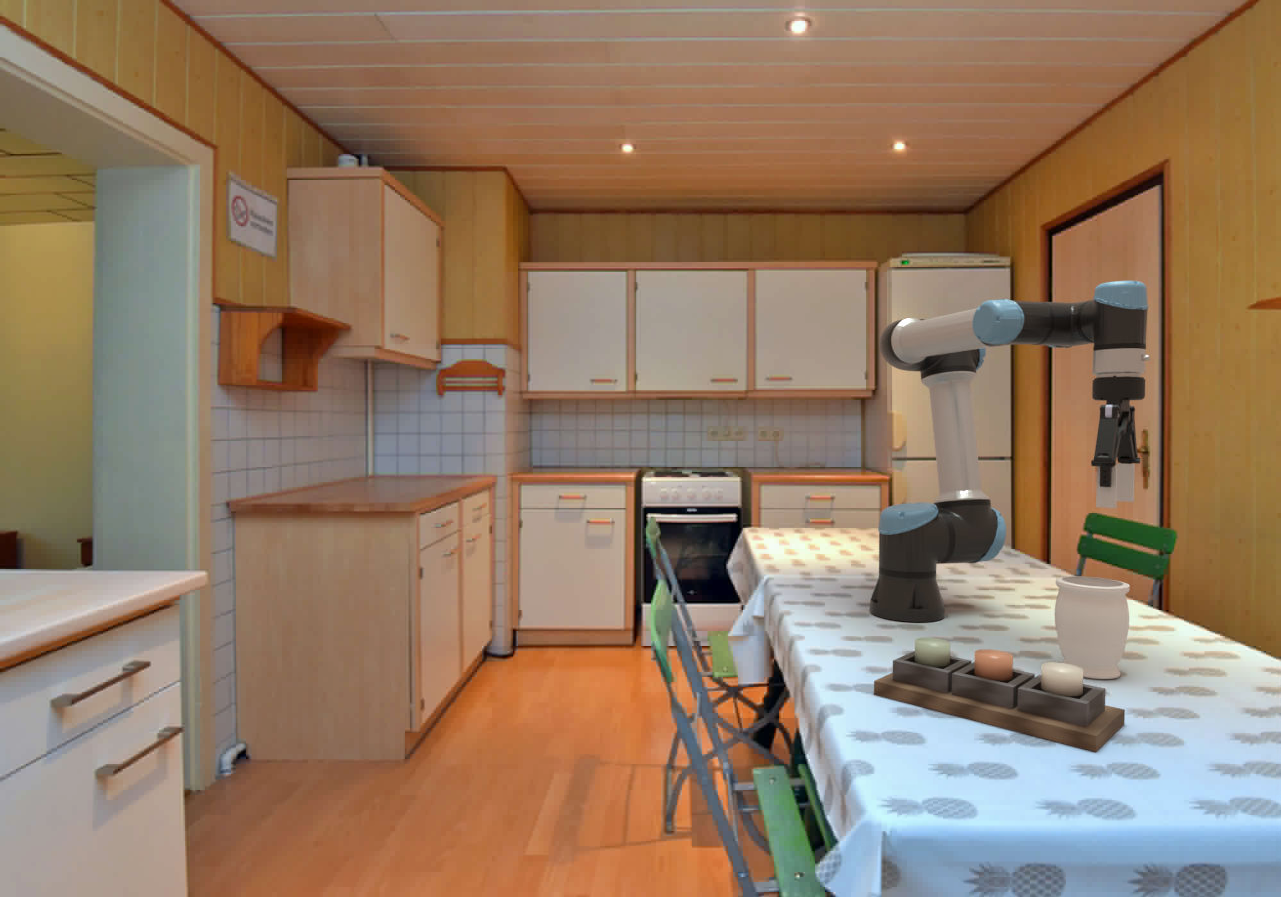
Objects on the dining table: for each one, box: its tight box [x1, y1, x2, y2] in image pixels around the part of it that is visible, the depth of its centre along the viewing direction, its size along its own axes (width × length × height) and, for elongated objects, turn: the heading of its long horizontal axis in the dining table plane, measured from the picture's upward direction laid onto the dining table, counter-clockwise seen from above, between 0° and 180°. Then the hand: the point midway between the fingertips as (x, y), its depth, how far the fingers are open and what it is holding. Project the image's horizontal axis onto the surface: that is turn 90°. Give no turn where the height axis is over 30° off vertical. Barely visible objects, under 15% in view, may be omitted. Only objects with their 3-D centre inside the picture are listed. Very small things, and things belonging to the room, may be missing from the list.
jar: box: [1054, 575, 1131, 680], centre depth 131 cm, size 11×10×15 cm
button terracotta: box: [974, 648, 1014, 681], centre depth 114 cm, size 5×5×3 cm
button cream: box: [1040, 661, 1084, 696], centre depth 108 cm, size 5×5×3 cm
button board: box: [873, 650, 1126, 753], centre depth 114 cm, size 30×13×5 cm, turn 46°
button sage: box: [914, 637, 951, 667], centre depth 121 cm, size 5×5×3 cm
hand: (1115, 504), depth 133 cm, fingers open, 13 cm apart
